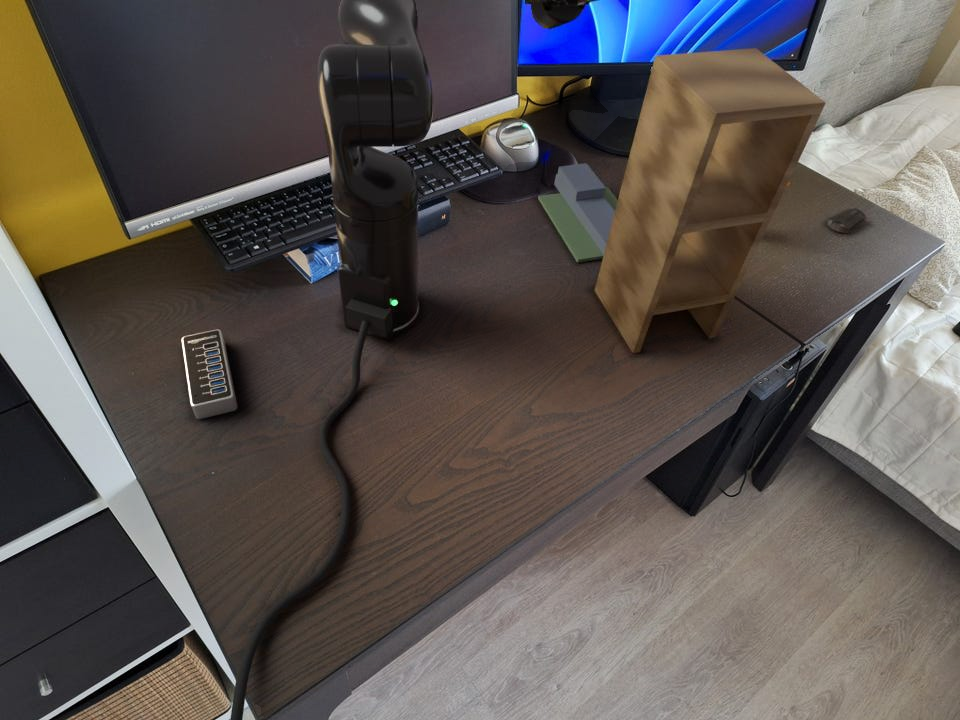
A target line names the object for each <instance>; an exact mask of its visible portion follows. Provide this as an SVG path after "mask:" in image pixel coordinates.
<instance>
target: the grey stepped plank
mask: <svg viewBox="0 0 960 720" xmlns="http://www.w3.org/2000/svg"><path fill="white" fill-rule="evenodd" d="M554 186H555V188H556V189H557V191H558V193H560V194H561V195H562V196H563V198H564V199H565V201H566V202H567V203H568V205H569V206H570V208H571V209H572V211H573V212H574V213H575V215H576V216H577V218H578V219H579V221H580V222H581V223H582V225H583V226H584V228H585V229H586V231H587V232H588V233H589V235H590V236H591V238H592V239H593V241H594V242H595V243H596V245H597V246H598V248H599V249H600V251H601V252H602V253H603V255H604V252H605V248H606V244H607V241H608V237H609V233H610V229H611V225H612V221H613V217H614V214H615V211H614V210H613V208H612V207H611V206H610V204H609V203H608V202H607V201H606V199H605V198H604V197H603V196H604V193H605V189H606V187H607V186H605V185H604V183H603V182H602V181H601V180H600V178H599V177H598V176H597V174H595V172H594V171H593V169H592V168H591V166H590V165H589V164H588V163H586V162H584V163H577V164H570V165H561V166H558V170H557V173H555V178H554Z"/></svg>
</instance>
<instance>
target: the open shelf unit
mask: <svg viewBox="0 0 960 720" xmlns="http://www.w3.org/2000/svg"><path fill="white" fill-rule="evenodd" d="M650 71H651V72H650V75H649V79H648V82H647V87H646V90H645V95H644V99H643V102H642V107H641V110H640V114H639V117H638V121H637V124H636V125H637V126H636V128H635V133H634V137H633V141H632V145H631V147H630V152H629V156H628V160H627V164H626V167H625V172H624V176H623V179H622V183H621V187H620V191H619V193H618V198H617V200H618V202H617V206H616V210H615V214H614V217H613V221H612V225H611V229H610V233H609V237H608V241H607V244H606V248H605V252H604V256H603V259H601V264H600V268H599V273H598V276H597V280H596V283H595V287H594V293H595V294H596V295H597V297H598V299H599V301H600V303H601V304H602V306H603V307H604V308H605V310H606V312H607V314H608V315H609V317H610V318H611V320H612V322H613V323H614V326H615V327H616V328H617V331H618V332H619V333H620V335H621V336H622V338H623V340H624V341H625V343H626V344H627V346H628V348H629V350H630V351H631V352H632V354H637V353H640V352H641V349H642V347H643V344H644V342H645V338H646V335H647V332H648V330H649V327H650V325H651V322H652V319H653V317H654V316H657V315H663V314H667V313H673V312H679V311H683V310H687V311H689V313H690V314H691V316H692V317H693V319H694V320H695V321H696V323H697V324H698V325H699V327H700V328H701V329H702V331H703V332H704V334H705V335H706V336H707V338H708V339H712V338H716V337H717V335H718V333H719V330H720V328H721V326H722V324H723V322H724V320H725V317H726V316H727V313H728V312H729V309H730V308H731V305H732V303H733V301H734V299H735V297H736V294H737V292H738V290H739V288H740V287H741V284H742V282H743V281H744V280H743V279H744V278H745V275H746V273H747V271H748V269H749V267H750V264H751V263H752V261H753V259H754V257H755V254H756V252H757V250H758V248H759V246H760V243H761V241H762V240H763V238H764V235H765V233H766V231H767V229H768V227H769V224H770V223H771V220H772V218H773V217H774V214H775V212H776V209H777V208H778V206H779V203H780V201H781V199H782V197H783V195H784V193H785V191H786V190H787V189H786V186H787V184H788V182H790V180H791V178H792V176H793V173H794V171H795V170H796V167H797V165H798V164H799V161H800V158H801V156H802V154H803V152H804V151H805V149H806V147H807V144H808V142H809V141H810V137H811V136H812V133H813V131H814V129H815V127H816V125H817V123H818V120H819V119H820V116H821V113H822V112H823V111H824V108H825V106H826V104H827V102H826V101H825V100H824V99H822V98H821V97H820V96H818V95H817V94H816V93H815V92H813V91H812V90H810V89H809V88H808V87H807V86H806V85H804V84H803V83H802V82H801V81H799V80H798V79H796V78H795V77H794V76H792V75H791V74H790V73H789V72H787V71H786V70H785V69H784V68H782V67H781V66H780V65H779V64H777V63H776V62H774V61H773V60H772V59H771V58H769V57H768V56H766V54H764V53H763V52H762V51H760V50H759V49H758V48H757V47H755V48H740V49H726V50H713V51H699V52H686V53H672V54H660V55H659V54H658V55H657V54H656V55H655V56H654V60H653V64H652V67H651V70H650Z"/></svg>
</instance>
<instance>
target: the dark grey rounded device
mask: <svg viewBox="0 0 960 720" xmlns="http://www.w3.org/2000/svg"><path fill="white" fill-rule="evenodd" d="M866 218H867V215H866V214H865V213H864V212H863V210H861V209H858V208H847V209H845V210H843V211H842V212H840V213H837V215H834V216H832V217H831V218H829V219H828V220H827V226H828V227H829V228H830V229H831V230H832V231H836V232H837V233H843V234H847V233H850V232H852V230H853V229H855V228H856V227H857V226H858V225H860V224H861V223H863V222H864V221H865V219H866Z"/></svg>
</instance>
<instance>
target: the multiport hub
mask: <svg viewBox="0 0 960 720" xmlns="http://www.w3.org/2000/svg"><path fill="white" fill-rule="evenodd" d="M181 347H182V354H183V360H184V368H185V375H186V381H187V388H188V397H189V403H190V406H191V409H192V411H193V414H194V416H195V418H196V419H197V420H203V419H207V418H210V417H214V416H218V415H223V414H227V413H230V412H235V411H236V410H238V403H237V397H236V392H235V386H234V383H233V377H232V372H231V366H230V361H229V356H228V352H227V346H226V343H225V339H224V336H223V334H222V330H221V329H213V330H207V331H203V332H198V333H193V334H189V335H184V336H183V337H182V338H181Z"/></svg>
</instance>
